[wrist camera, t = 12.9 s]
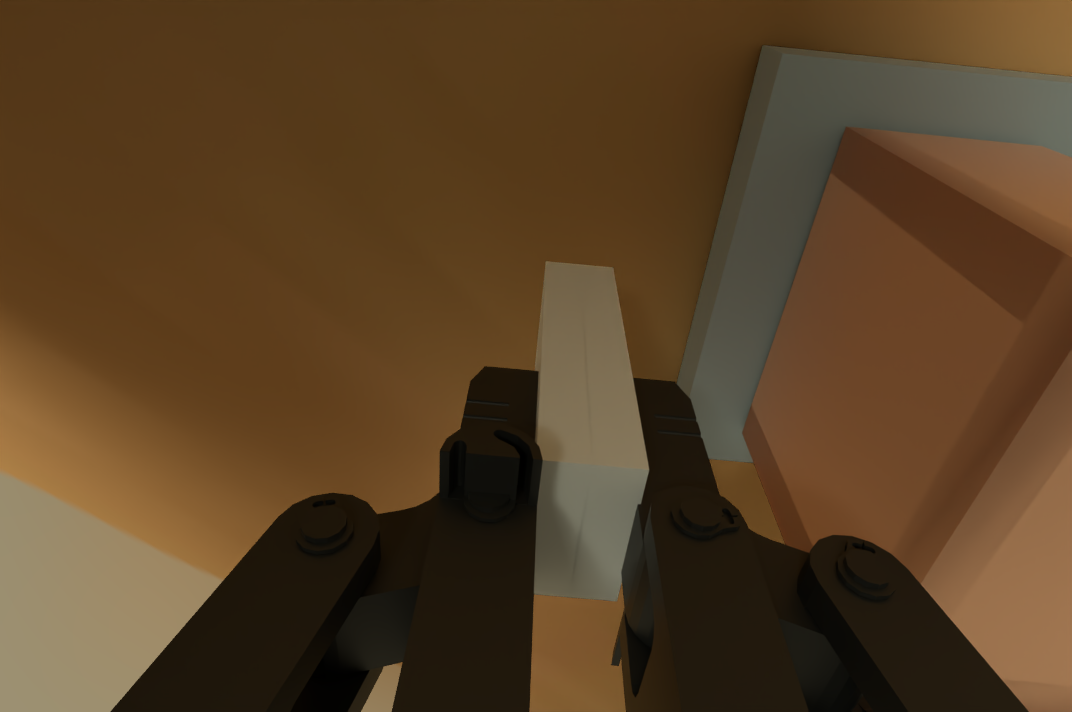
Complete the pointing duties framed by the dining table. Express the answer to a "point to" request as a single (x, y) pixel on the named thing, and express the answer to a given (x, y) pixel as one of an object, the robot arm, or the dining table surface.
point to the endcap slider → (937, 387)
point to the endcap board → (798, 185)
